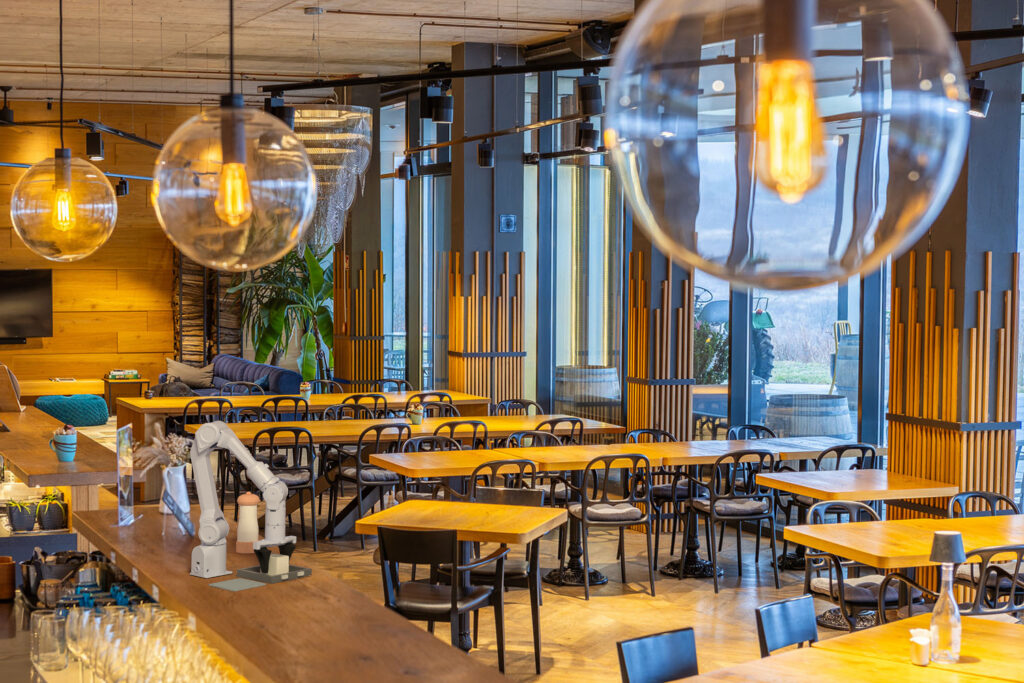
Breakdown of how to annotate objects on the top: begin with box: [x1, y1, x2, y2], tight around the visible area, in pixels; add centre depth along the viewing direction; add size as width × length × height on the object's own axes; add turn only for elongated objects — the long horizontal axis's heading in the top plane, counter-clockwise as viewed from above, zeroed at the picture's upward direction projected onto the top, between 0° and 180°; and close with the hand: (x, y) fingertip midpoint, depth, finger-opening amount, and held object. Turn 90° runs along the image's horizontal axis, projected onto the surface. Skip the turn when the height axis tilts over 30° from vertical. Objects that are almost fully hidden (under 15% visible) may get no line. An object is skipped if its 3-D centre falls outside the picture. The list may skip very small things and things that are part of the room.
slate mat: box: [208, 577, 267, 592], centre depth 316 cm, size 11×11×1 cm
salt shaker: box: [235, 491, 260, 554], centre depth 365 cm, size 7×7×19 cm
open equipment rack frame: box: [236, 563, 312, 585], centre depth 329 cm, size 15×16×2 cm
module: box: [260, 552, 290, 576], centre depth 329 cm, size 4×7×6 cm, turn 52°
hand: (274, 571), depth 329 cm, fingers open, 7 cm apart
